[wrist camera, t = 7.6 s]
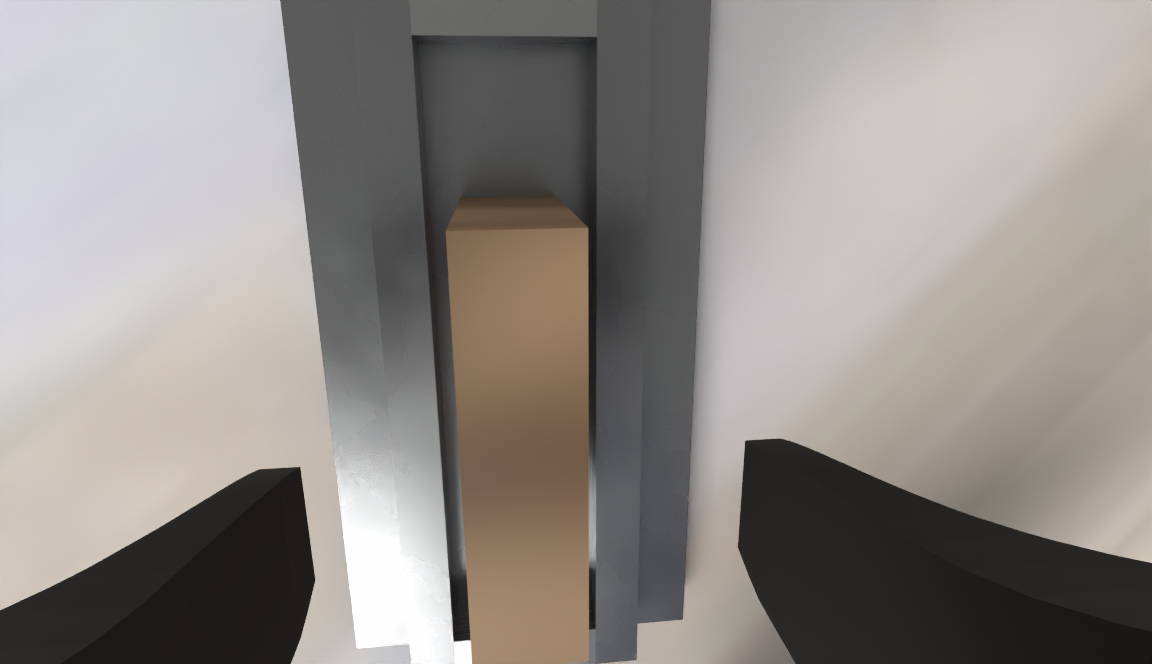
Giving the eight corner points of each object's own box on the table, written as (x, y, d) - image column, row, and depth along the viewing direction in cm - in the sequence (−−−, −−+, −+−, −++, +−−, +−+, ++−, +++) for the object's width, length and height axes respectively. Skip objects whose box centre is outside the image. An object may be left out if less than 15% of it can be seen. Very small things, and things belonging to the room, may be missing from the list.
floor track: (674, 599, 22) (696, 654, 20) (363, 625, 21) (346, 687, 19) (699, -1, 17) (731, -21, 15) (291, -7, 16) (257, -30, 14)
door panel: (560, 509, 20) (588, 661, 14) (477, 514, 20) (472, 672, 14) (555, 195, 17) (588, 227, 12) (460, 197, 17) (445, 230, 11)
